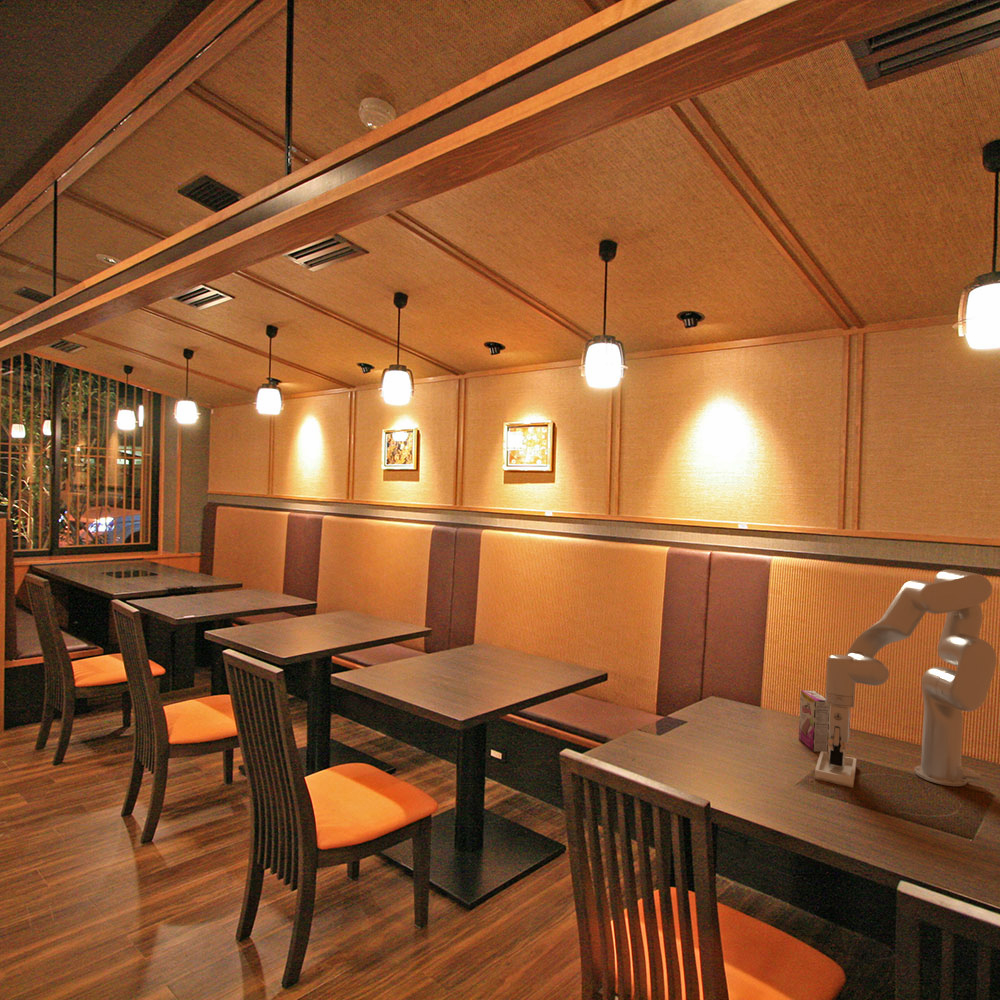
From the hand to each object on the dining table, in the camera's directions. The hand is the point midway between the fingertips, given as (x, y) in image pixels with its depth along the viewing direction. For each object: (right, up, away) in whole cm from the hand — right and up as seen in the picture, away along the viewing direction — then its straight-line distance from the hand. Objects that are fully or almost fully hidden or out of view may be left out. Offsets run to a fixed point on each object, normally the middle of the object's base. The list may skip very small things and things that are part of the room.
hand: (836, 761), depth 195 cm
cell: (0, -2, 0) cm, 2 cm away
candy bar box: (+3, -3, +21) cm, 22 cm away
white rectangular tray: (0, -3, 0) cm, 3 cm away
